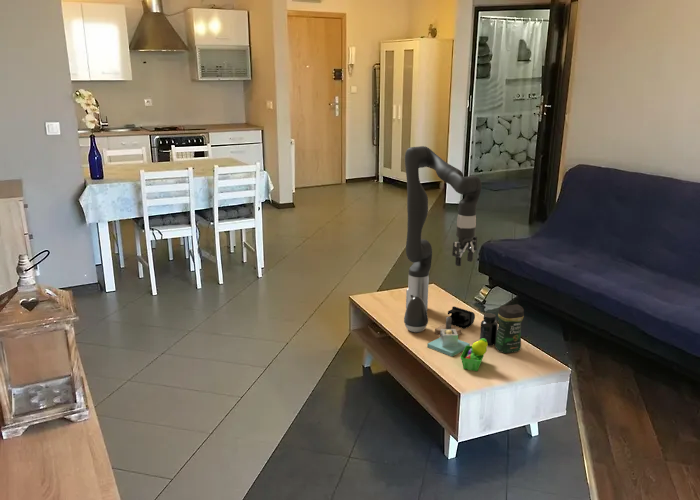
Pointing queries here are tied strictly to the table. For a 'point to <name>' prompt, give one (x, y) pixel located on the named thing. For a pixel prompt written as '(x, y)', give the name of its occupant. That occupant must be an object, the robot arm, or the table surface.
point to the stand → (448, 327)
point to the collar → (449, 338)
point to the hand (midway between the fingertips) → (464, 263)
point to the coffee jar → (509, 328)
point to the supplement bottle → (489, 328)
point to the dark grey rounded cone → (416, 315)
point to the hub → (447, 350)
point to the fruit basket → (474, 355)
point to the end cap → (461, 317)
